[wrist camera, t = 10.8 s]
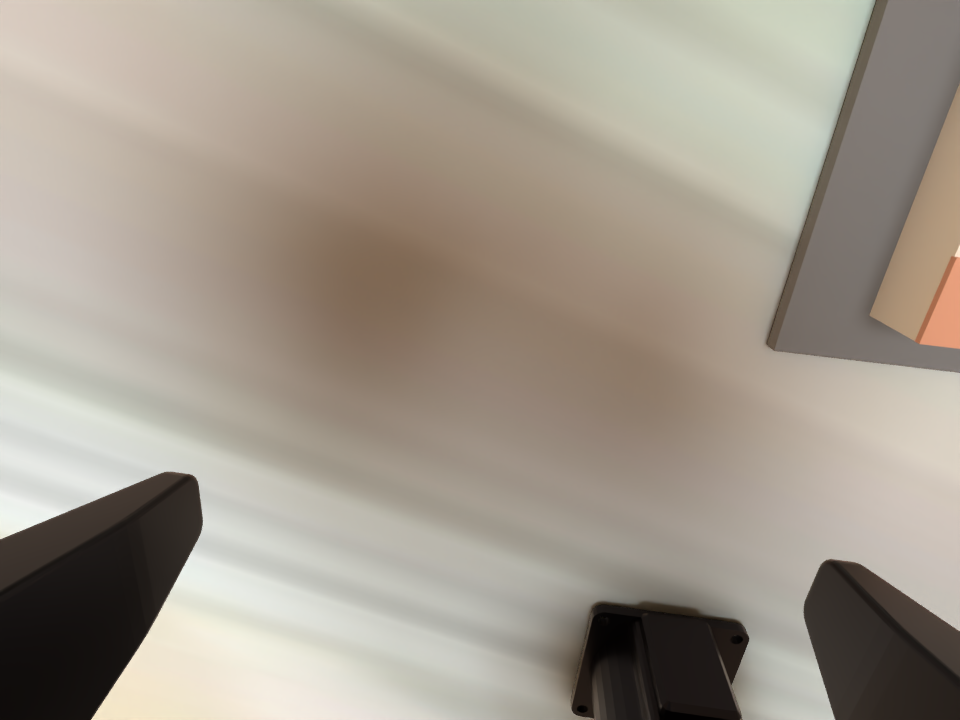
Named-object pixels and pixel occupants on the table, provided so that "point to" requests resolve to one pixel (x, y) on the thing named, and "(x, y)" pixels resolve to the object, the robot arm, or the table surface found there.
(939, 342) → the card deck
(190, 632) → the table surface
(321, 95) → the table surface
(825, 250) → the card mat
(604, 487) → the table surface
